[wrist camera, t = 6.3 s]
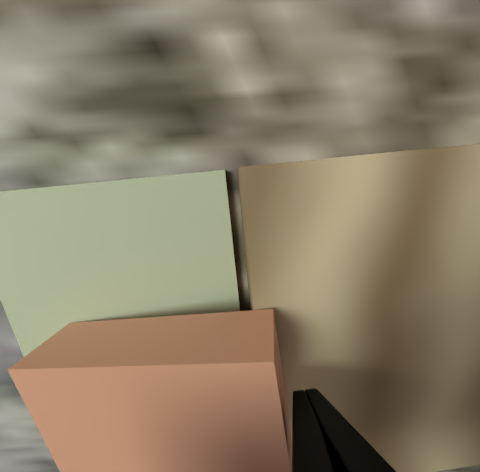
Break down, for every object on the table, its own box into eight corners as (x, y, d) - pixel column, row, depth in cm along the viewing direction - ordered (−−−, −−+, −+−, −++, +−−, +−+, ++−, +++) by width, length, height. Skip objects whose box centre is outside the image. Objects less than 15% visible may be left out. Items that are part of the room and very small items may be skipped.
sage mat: (225, 170, 9) (224, 169, 9) (255, 452, 13) (256, 460, 13) (-31, 194, 9) (-42, 195, 9) (81, 478, 13) (77, 487, 13)
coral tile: (273, 308, 9) (273, 361, 6) (290, 427, 10) (296, 506, 8) (69, 322, 10) (7, 369, 8) (110, 424, 12) (69, 489, 9)
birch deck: (514, 141, 10) (585, 133, 8) (458, 422, 14) (496, 462, 12) (237, 168, 9) (240, 166, 7) (263, 451, 13) (270, 497, 12)
